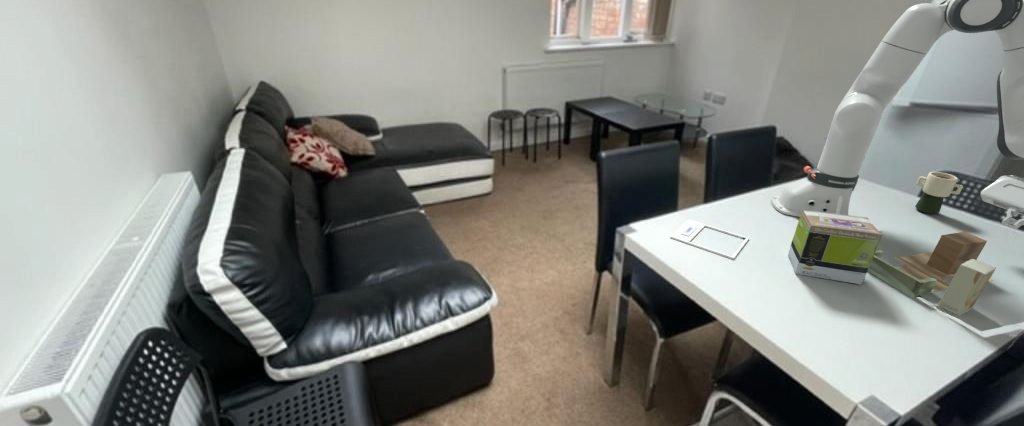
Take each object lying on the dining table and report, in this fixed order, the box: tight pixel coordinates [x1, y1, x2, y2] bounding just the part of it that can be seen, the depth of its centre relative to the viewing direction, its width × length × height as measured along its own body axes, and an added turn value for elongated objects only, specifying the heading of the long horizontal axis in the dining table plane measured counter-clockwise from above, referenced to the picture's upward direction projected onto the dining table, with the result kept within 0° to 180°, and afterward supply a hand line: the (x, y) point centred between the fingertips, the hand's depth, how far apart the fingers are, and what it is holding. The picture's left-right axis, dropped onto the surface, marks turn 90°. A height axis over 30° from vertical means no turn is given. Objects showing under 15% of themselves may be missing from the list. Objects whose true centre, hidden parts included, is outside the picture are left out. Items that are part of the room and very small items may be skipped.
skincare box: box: [936, 259, 997, 319], centre depth 99 cm, size 6×4×12 cm
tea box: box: [787, 210, 883, 286], centre depth 113 cm, size 15×10×15 cm, turn 71°
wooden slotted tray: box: [867, 249, 993, 299], centre depth 114 cm, size 26×14×4 cm, turn 104°
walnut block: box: [927, 231, 988, 275], centre depth 114 cm, size 8×5×9 cm, turn 104°
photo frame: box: [670, 219, 750, 260], centre depth 130 cm, size 15×1×18 cm
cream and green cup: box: [914, 171, 964, 214], centre depth 145 cm, size 11×7×13 cm, turn 42°
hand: (1008, 225), depth 114 cm, fingers closed
